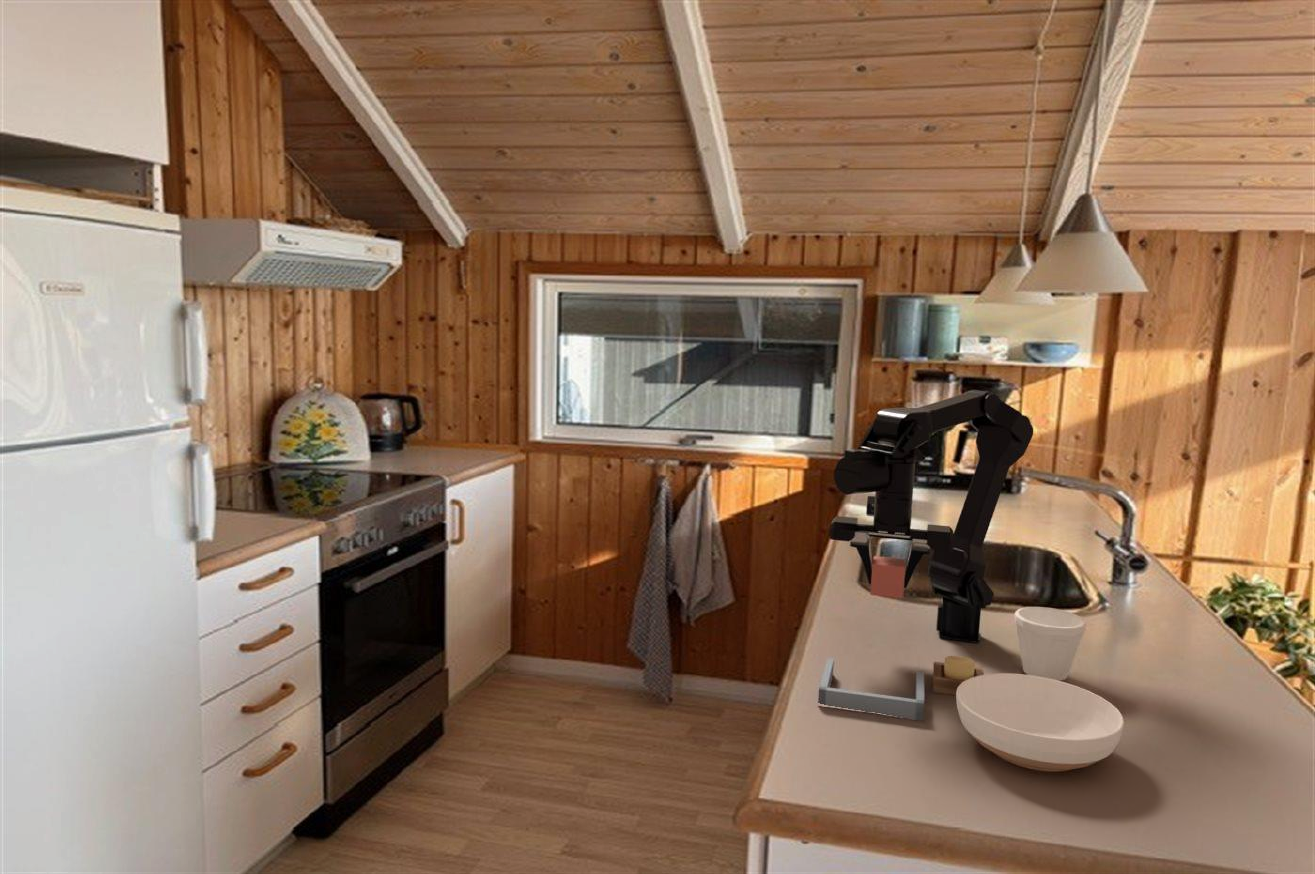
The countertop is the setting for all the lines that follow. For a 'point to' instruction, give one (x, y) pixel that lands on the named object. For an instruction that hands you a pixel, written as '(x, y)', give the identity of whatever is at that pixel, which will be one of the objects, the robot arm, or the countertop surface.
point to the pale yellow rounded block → (959, 668)
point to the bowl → (1038, 721)
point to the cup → (1048, 640)
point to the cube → (888, 577)
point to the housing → (948, 679)
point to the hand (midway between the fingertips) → (887, 585)
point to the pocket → (872, 698)
